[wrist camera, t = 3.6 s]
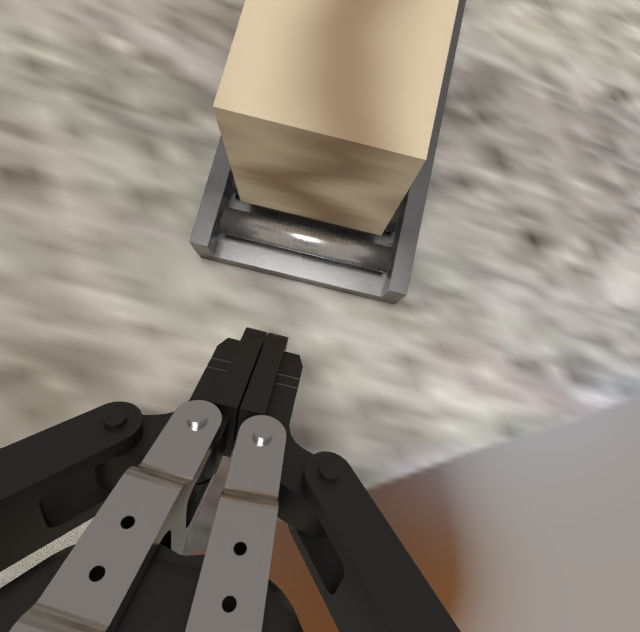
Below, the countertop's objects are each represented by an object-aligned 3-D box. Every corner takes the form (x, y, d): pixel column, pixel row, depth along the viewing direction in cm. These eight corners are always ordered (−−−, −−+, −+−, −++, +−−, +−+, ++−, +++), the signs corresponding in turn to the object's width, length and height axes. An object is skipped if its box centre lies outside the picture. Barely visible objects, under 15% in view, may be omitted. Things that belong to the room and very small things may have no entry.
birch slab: (240, 201, 23) (212, 106, 15) (284, 46, 25) (279, -112, 17) (381, 235, 23) (425, 160, 15) (415, 80, 25) (471, -61, 17)
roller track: (200, 257, 25) (165, 209, 18) (295, -66, 29) (295, -206, 22) (394, 304, 25) (431, 274, 18) (461, -22, 29) (513, -147, 22)
